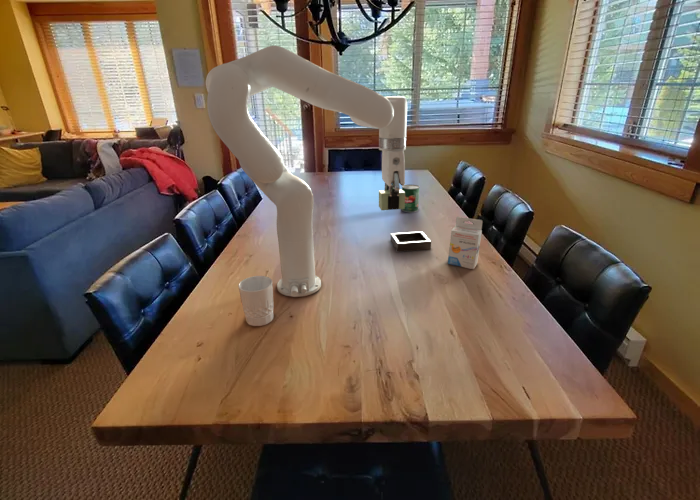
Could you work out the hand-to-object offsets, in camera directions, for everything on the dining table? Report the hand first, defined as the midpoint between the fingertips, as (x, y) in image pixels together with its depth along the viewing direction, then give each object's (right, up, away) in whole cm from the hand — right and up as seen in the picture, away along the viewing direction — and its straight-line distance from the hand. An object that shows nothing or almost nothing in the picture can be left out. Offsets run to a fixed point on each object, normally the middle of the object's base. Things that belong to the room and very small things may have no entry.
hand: (391, 206), depth 112 cm
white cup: (-35, -30, -19) cm, 50 cm away
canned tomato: (+15, +5, +61) cm, 63 cm away
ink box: (+24, -18, +8) cm, 31 cm away
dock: (+9, -11, +23) cm, 27 cm away
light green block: (0, 0, 0) cm, 0 cm away
